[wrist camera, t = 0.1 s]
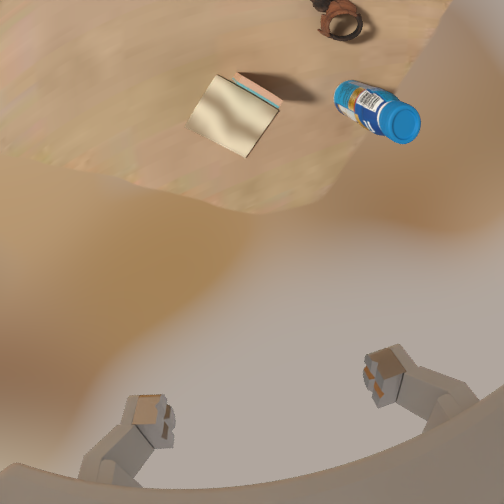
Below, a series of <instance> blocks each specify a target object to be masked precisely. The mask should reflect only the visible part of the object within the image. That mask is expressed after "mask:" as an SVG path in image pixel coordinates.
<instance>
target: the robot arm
mask: <svg viewBox="0 0 504 504" xmlns="http://www.w3.org/2000/svg"><path fill="white" fill-rule="evenodd" d="M364 362H365V364H366V367H365V368H364V370H363V378H364V382H365V385H366V387H367V389H368V390H370V391H372V392H373V394H372V398H373V400H374V402H375V404H376V406H377V407H378V408H380V407H383V406H386V405H389V404H392V403H394V402H396V403H397V404H399V405H401V406H402V407H404V408H406V409H407V410H409V411H411V412H412V413H414V414H416V415H418V416H419V417H421V418H423V419H425V420H426V421H428V422H427V424H426V426H425V428H424V430H423V432H422V434H420V435H418V436H416V437H414V438H412V439H410V440H408V441H405V442H403V443H401V444H398V445H396V446H394V447H391V448H389V449H386V450H384V451H381V452H379V453H376V454H373V455H371V456H368V457H365V458H362V459H359V460H357V461H353V462H350V463H347V464H344V465H340V466H337V467H334V468H330V469H326V470H323V471H319V472H315V473H311V474H307V475H302V476H298V477H293V478H288V479H283V480H278V481H272V482H266V483H259V484H253V485H244V486H235V487H223V488H209V489H154V488H143V487H142V486H141V485H140V484H139V483H138V482H137V481H135V480H134V479H133V478H134V477H135V475H136V474H137V473H138V471H139V470H140V469H141V467H142V466H143V465H144V463H145V462H146V461H147V459H148V458H149V456H150V455H151V454H152V452H153V451H154V449H162V448H173V443H174V434H173V433H172V430H173V429H174V428H175V414H174V411H173V409H172V407H171V406H170V405H168V404H167V398H166V397H165V395H163V394H156V395H130V396H129V397H128V398H127V401H126V405H125V409H124V413H123V416H122V420H121V424H120V425H117V426H116V427H114V428H113V429H112V430H111V431H110V432H109V433H108V434H107V435H106V436H105V437H104V438H103V439H102V440H100V441H99V442H98V443H97V444H96V445H95V446H94V447H93V448H92V449H91V450H90V451H89V452H88V453H87V454H86V455H84V457H83V461H82V464H81V468H80V471H79V475H78V479H76V478H71V477H66V476H63V475H58V474H54V473H51V472H47V471H44V470H40V469H37V468H34V467H31V466H27V465H25V464H21V463H13V464H11V465H9V466H8V467H6V468H5V469H4V470H2V471H1V472H0V504H504V384H503V385H502V386H501V387H499V388H498V389H496V390H495V391H494V392H492V393H491V394H489V395H488V396H486V397H485V398H484V399H482V400H481V401H480V400H479V399H478V398H477V397H476V395H475V394H474V393H473V392H472V390H471V389H470V388H469V387H468V385H467V384H466V383H465V382H462V381H460V380H457V379H454V378H451V377H449V376H446V375H443V374H441V373H437V372H435V371H432V370H430V369H427V368H425V367H422V366H420V367H418V366H417V365H416V364H415V363H414V361H413V360H412V359H411V357H410V356H409V355H408V354H407V352H406V351H405V350H404V349H403V347H402V346H401V345H400V344H396V345H393V346H390V347H388V348H384V349H382V350H378V351H376V352H373V353H370V354H367V355H366V356H365V361H364Z"/></svg>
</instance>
